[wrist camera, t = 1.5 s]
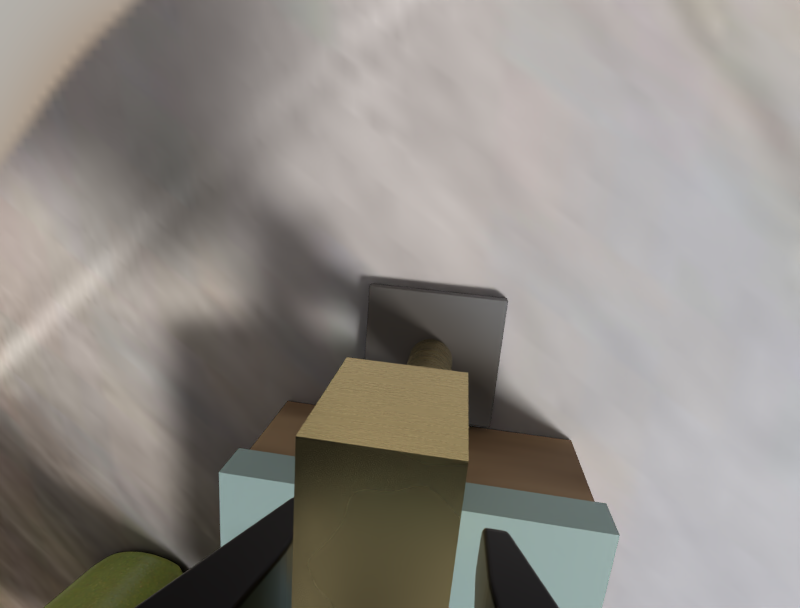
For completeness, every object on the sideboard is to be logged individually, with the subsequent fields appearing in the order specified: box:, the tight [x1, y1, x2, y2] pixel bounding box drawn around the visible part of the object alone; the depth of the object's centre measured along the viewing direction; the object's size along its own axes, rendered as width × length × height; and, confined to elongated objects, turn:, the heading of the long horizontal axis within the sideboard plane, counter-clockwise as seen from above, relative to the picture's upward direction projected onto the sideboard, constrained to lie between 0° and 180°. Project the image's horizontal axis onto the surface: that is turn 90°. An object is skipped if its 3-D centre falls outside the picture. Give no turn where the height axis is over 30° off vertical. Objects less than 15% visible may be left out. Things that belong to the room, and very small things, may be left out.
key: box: [291, 339, 469, 608], centre depth 11 cm, size 8×2×11 cm, turn 175°
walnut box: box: [250, 284, 594, 502], centre depth 16 cm, size 15×10×4 cm
